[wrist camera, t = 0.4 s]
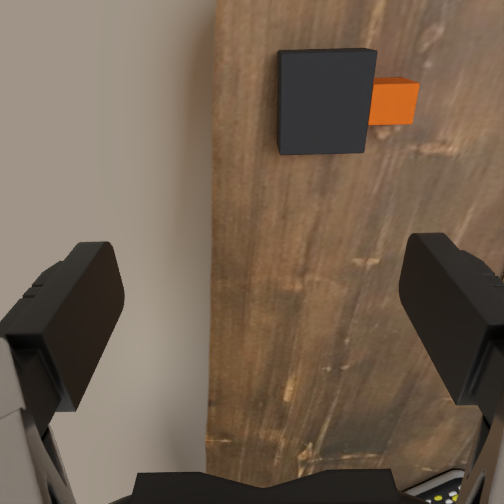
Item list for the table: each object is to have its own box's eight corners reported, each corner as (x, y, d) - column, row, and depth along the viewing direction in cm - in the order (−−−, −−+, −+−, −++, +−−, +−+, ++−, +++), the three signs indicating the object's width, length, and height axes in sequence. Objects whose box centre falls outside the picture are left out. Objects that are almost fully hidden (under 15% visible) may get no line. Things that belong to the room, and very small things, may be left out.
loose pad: (277, 50, 24) (280, 53, 22) (408, 46, 24) (426, 49, 22) (277, 143, 27) (279, 155, 25) (392, 140, 27) (407, 152, 25)
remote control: (379, 501, 54) (383, 516, 52) (458, 464, 49) (466, 480, 47) (404, 515, 56) (409, 531, 54) (483, 482, 51) (490, 498, 49)
